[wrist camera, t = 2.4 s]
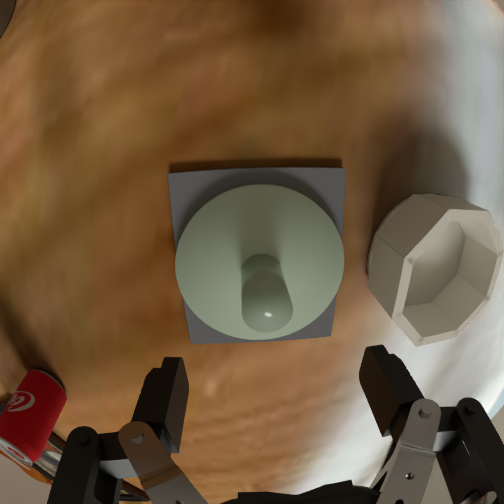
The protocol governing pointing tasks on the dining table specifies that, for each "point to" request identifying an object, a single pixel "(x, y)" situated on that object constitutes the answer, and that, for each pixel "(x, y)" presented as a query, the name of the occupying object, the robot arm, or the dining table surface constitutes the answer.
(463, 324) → the bowl
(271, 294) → the lid
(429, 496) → the vase
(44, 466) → the religious icon
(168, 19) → the dining table surface
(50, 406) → the beverage can
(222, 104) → the dining table surface
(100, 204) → the dining table surface
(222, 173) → the mat
